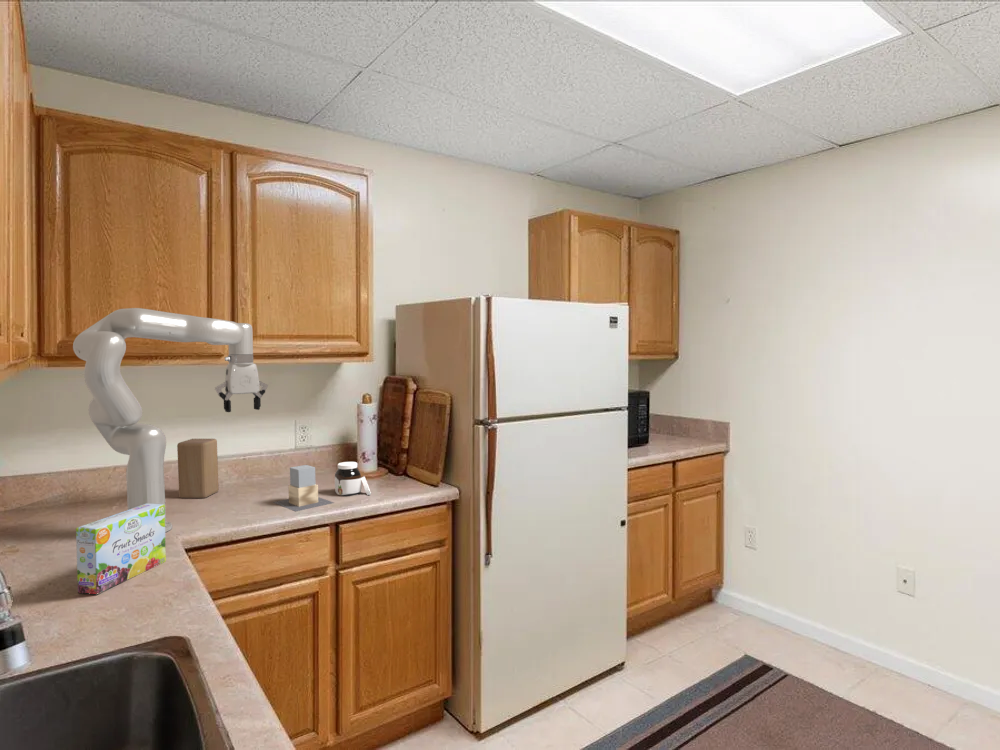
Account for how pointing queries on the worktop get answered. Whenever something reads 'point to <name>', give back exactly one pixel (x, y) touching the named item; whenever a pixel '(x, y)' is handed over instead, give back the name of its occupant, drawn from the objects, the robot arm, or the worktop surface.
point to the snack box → (120, 547)
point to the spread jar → (349, 480)
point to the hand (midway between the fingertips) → (242, 410)
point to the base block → (303, 495)
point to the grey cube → (302, 476)
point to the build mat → (297, 508)
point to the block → (197, 468)
